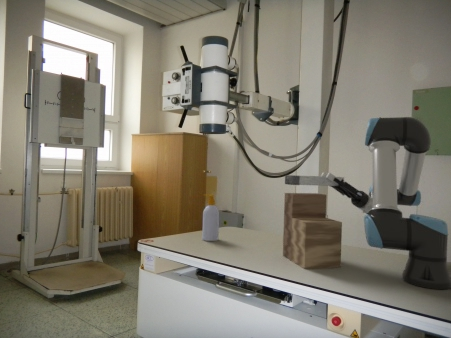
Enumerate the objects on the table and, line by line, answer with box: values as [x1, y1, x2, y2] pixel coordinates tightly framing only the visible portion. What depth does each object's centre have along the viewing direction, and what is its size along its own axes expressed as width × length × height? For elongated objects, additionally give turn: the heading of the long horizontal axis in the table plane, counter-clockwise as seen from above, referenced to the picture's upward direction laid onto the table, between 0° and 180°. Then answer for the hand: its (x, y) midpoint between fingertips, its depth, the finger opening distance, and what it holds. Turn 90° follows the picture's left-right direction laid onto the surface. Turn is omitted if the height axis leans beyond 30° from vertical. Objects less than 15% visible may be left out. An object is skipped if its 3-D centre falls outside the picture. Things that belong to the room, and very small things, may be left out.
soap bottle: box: [201, 193, 220, 242], centre depth 183 cm, size 9×9×24 cm
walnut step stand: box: [282, 192, 343, 270], centre depth 145 cm, size 20×16×28 cm
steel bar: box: [284, 174, 345, 187], centre depth 152 cm, size 8×26×4 cm, turn 105°
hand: (324, 175), depth 153 cm, fingers closed on steel bar, 4 cm apart
